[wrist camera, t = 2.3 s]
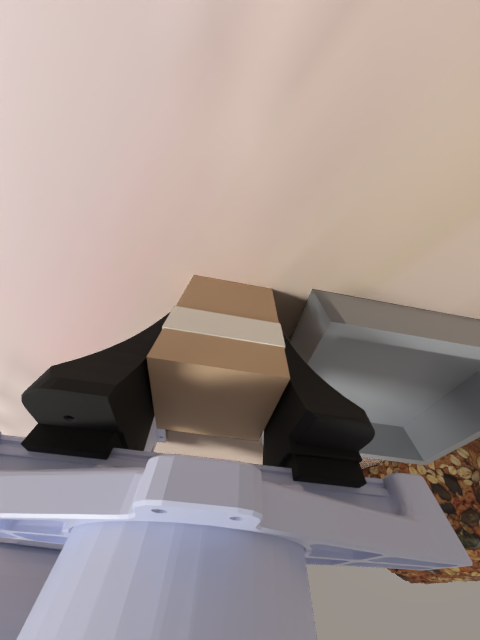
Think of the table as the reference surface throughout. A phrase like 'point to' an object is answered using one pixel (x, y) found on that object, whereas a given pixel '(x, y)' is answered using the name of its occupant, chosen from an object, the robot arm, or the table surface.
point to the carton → (219, 361)
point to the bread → (448, 506)
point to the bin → (397, 371)
